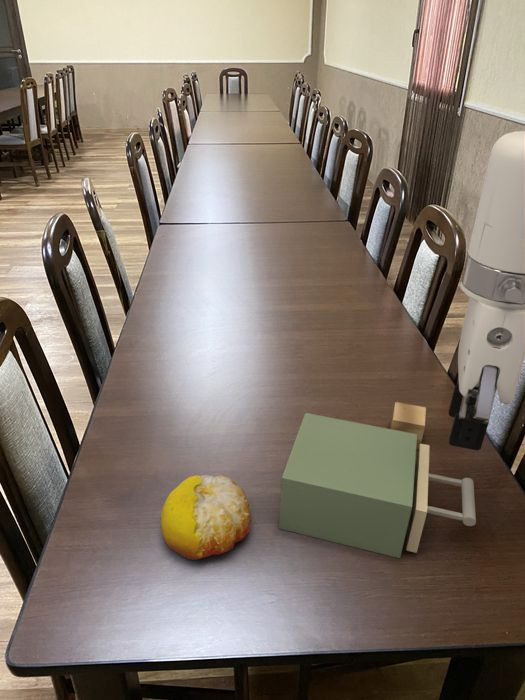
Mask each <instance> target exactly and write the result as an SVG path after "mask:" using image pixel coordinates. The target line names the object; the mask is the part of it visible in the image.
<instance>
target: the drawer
mask: <svg viewBox="0 0 525 700" xmlns="http://www.w3.org/2000/svg"><path fill="white" fill-rule="evenodd" d="M430 448H431V447H430V444H424V443H421V444H420V446H419V449H417V454H416V460H415V475H414V489H413V504H412V510H411V514H410V519H409V523H408V527H407V532H406V548H405V550H406V552H412V553H415V554H417V553H418V550H419V545H420V541H421V537H422V534H423V530H424V526H425V523H426V518H427V516H428V515H427V514H431V515H435V516H440V517H443V518H448V519H454V520H458V521H462V524H464V525H465V526H468V527H473V526H475V525H476V524H477V518H476V515H477V514H476V501H475V500H476V499H475V485H474V484H475V483H474V480H473V479H472V478H470V477H464V478H462V479H458V478H454V477H448V476H444V475H438V474H434V473H430ZM429 481H433V482H437V483H441V484H447V485H451V486H455V487H460V488H461V509H462V512H459V511H458V512H457V511H453V510H449V509H444V508H440V507H436V506H430V505H428V504H429V503H428V500H429V499H428V497H429Z"/></svg>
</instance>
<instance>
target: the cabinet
mask: <svg viewBox="0 0 525 700" xmlns="http://www.w3.org/2000/svg"><path fill="white" fill-rule="evenodd" d="M416 446H417V434H413V433H407V432H402V431H397V430H392V429H391V428H386V427H381V426H377V425H370V424H366V423H360V422H356V421H351V420H345V419H340V418H334V417H330V416H324V415H318V414H314V413H308V412H304V414H303V418H302V421H301V424H300V426H299V429H298V432H297V434H296V437H295V439H294V443H293V445H292V449H291V451H290V454H289V456H288V459H287V462H286V465H285V468H284V471H283V473H282V476H281V485H280V500H279V501H280V505H279V507H280V508H279V522H278V529H280V530H283V531H287V532H292V533H294V534H295V533H296V534H299V535H303V536H307V537H312V538H316V539H320V540H323V541H328V542H332V543H336V544H339V545H343V546H344V545H345V546H348V547H352V548H356V549H362V550H364V551H368V552H373V553H377V554H381V555H384V556H389V557H393V558H396V559H401V557H402V553H403V549H404V544H405V540H406V537H407V532H408V523H409V519H410V514H411V510H412V504H413V489H414V475H415V463H416V459H417V449H416Z"/></svg>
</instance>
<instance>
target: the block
mask: <svg viewBox="0 0 525 700" xmlns="http://www.w3.org/2000/svg"><path fill="white" fill-rule="evenodd" d="M426 413H427V407H426V406H421V405H415V404H410V403H404V402H399V401H395V402H394V407H393V414H392V419H391V424H390V429H392V430H397V431H402V432H407V433H413V434H417V446H416V450H419V446H420V444H422V442H423V438H424V437H423V436H424V432H425V429H426V418H427V414H426Z"/></svg>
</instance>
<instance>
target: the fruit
mask: <svg viewBox="0 0 525 700" xmlns="http://www.w3.org/2000/svg"><path fill="white" fill-rule="evenodd" d="M249 506H250V504H249V503H248V498H247V496H246V493H245V490H244V489H242V487H240V486H239V485H238V483H236V482H235V480H234V479H232V478H230V477H228V476H226V475H223V474H218V475H216V476H213V475H208V474H203V475H198V474H197V475H191V476H189V477H187V478H185V479H184V480H183V481H182V482H180V484H179V485H177V486H176V487H175V488H174V489H173V490H172V491H170V493H169V495H168V496H167V498H166V500H165V501H164V504H163V507H162V510H161V513H160V528H161V534H162V537H163V539H164V542H165V543H166V545H168V547H169V548H170V549H171V550H172V551H173V552H175V553H176V554H178V555H180V556H182V557H184V558H185V559H188V560H189V561H195V560H197V561H198V560H199V559H202V558H207V557H210V556H220V555H222V554H225V553H226V552H230V551H231V550H232V551H233V550H234V547H235V544H236V543H239V542H240V541H243V540H245V538H246V537H247V536H248V534H249V532H250V527H251V523H252V522H251V521H252V517H251V510H250V509H249Z"/></svg>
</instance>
